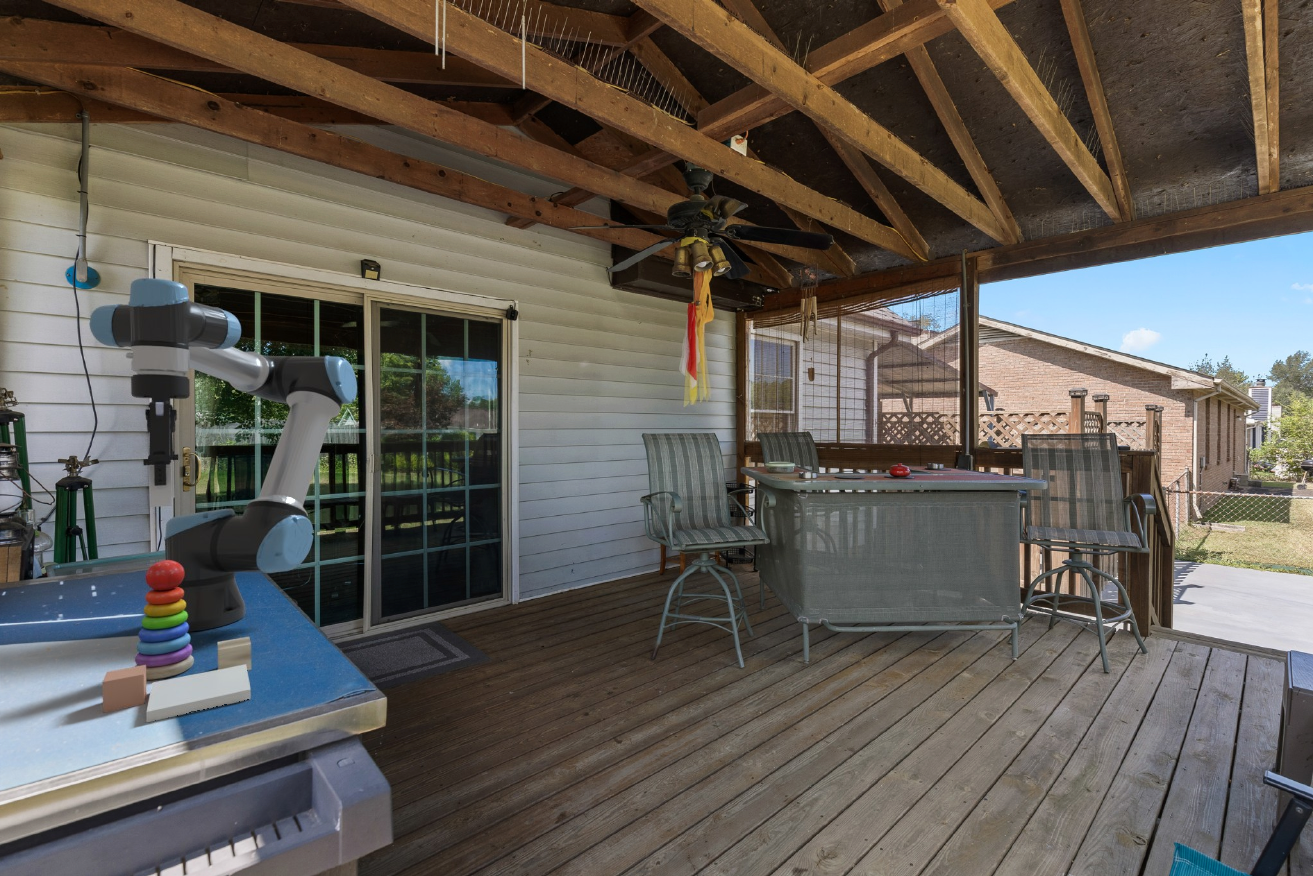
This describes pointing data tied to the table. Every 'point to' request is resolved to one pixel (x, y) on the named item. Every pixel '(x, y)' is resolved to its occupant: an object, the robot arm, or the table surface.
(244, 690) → the white square slab
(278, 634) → the table surface
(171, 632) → the stacking toy
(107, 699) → the terracotta block
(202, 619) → the robot arm
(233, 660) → the birch block
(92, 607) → the table surface
